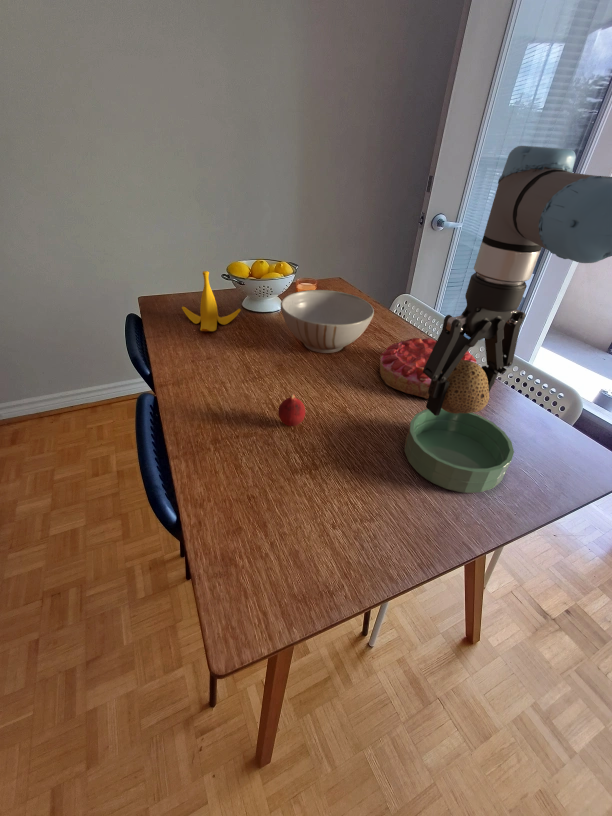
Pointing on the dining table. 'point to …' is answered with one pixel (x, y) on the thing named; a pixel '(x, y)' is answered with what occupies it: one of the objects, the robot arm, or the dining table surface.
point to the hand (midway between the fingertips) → (455, 406)
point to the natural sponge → (466, 389)
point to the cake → (409, 365)
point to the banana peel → (208, 309)
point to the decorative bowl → (326, 318)
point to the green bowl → (458, 450)
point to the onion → (291, 411)
